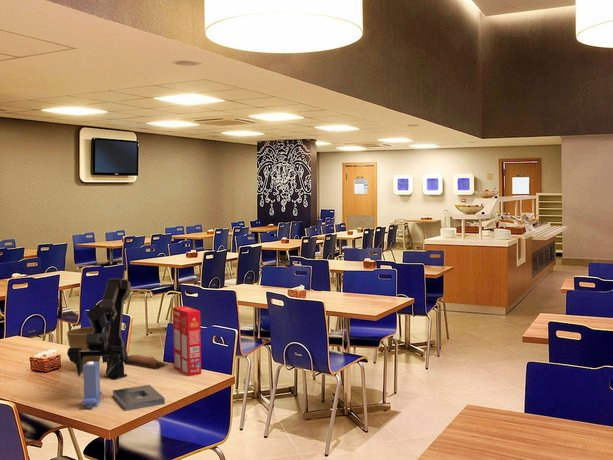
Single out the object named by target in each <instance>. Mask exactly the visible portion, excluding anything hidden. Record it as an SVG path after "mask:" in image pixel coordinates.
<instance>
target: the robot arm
mask: <svg viewBox="0 0 613 460" xmlns="http://www.w3.org/2000/svg"><path fill="white" fill-rule="evenodd" d="M131 288H132V286H131V281H129V280H128V279H126V278H125V279H122V278H108V279H107V280H106V287H105V291H104V293H103V296H102V299H101V301H99V302H98V303H96V304H94V306H93V307H91V308H90V309H89V310H88V311H87V314H86V316H87V318H88V321H89V324H90V327H93V332H92V334H87V335H86V344H87V348H89V350H87V351H82V350H81V347H70V346H69V348H68V349H67V353H66V354H67V356H68V359H69V361H70V362H72V363H73V364H74V365H75V367H76V366H77V367H76V371H77V376H78V377H81V374H82V371H81V370H82V364H83V362H82V360H83V357H84V356H101V360H102V363H103V364H104V363H106V370H105V375H104V376H103V378H106V379H111V380H117V379H120V378H124V377H127V376H128V374H127V373H125V363H124V362H125V361H128V356H129V355H128V352H127V349H126V346H125V342H124V341H123V338H122V328H123V326H122V325H123V318H124V317H123V315H124V305H125V304H124V303H125V301H126V299H127V298H128V297H129V293H130V291H131Z"/></svg>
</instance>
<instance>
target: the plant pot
mask: <svg viewBox="0 0 613 460" xmlns="http://www.w3.org/2000/svg"><path fill="white" fill-rule="evenodd" d="M92 332H93V327H91V326H87V327H79V328H74V329H69V330H68V331H66V336H67V341H68V346H69V348H70V347H81V350H82V351H87V350H89V348H87V344H86V335H87V334H92ZM101 359H102V356H84V357H83V360H82V362H83V364H82V370H81V372H83V365H85V364H86V363H87V362H90V361H93V362H99V363H100V360H101ZM75 367H76V368H77V366H76V365H75Z"/></svg>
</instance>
